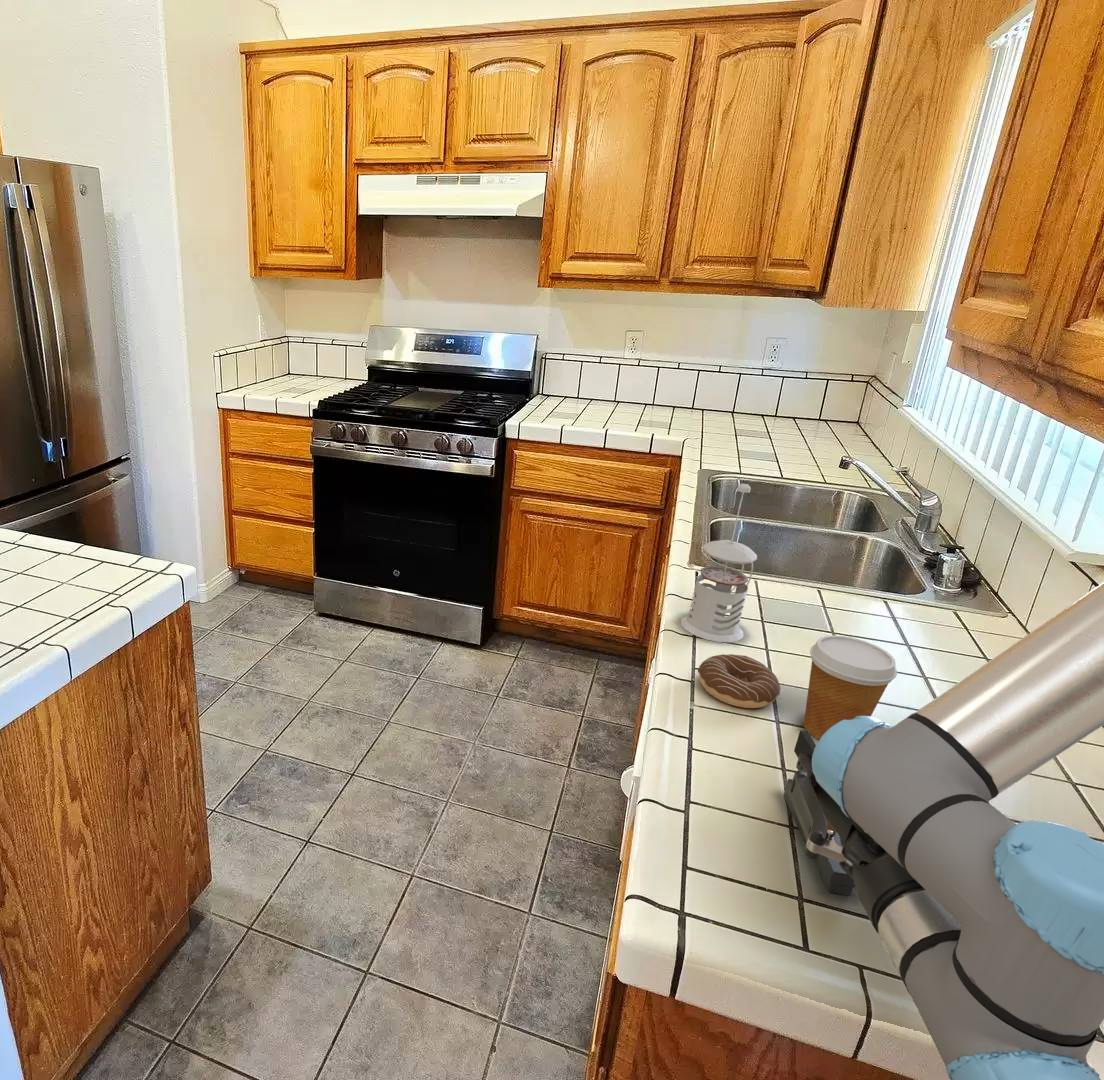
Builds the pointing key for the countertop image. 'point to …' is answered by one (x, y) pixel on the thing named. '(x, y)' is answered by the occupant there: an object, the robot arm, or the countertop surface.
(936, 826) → the robot arm
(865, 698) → the disposable coffee cup
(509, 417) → the countertop surface
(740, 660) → the donut
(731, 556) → the french press
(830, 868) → the squeegee
